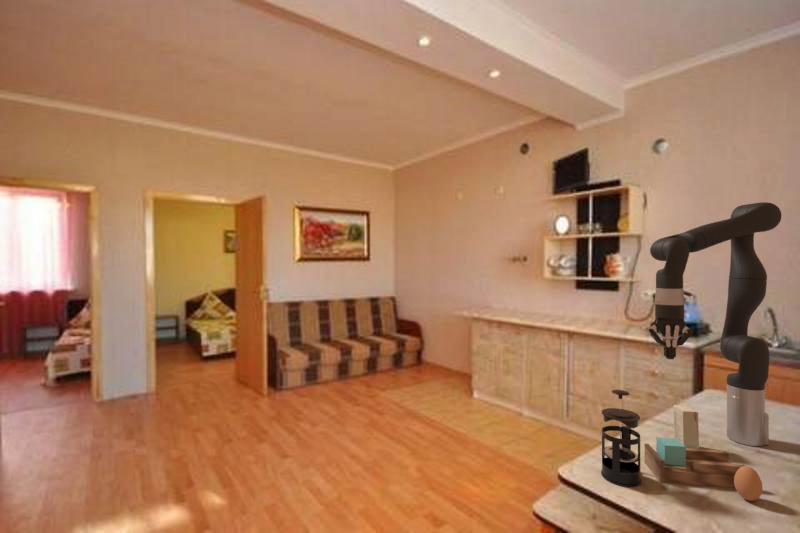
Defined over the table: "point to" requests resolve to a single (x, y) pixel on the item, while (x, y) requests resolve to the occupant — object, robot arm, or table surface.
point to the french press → (620, 455)
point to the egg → (748, 483)
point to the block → (671, 451)
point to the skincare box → (686, 426)
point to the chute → (694, 468)
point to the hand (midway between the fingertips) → (669, 358)
